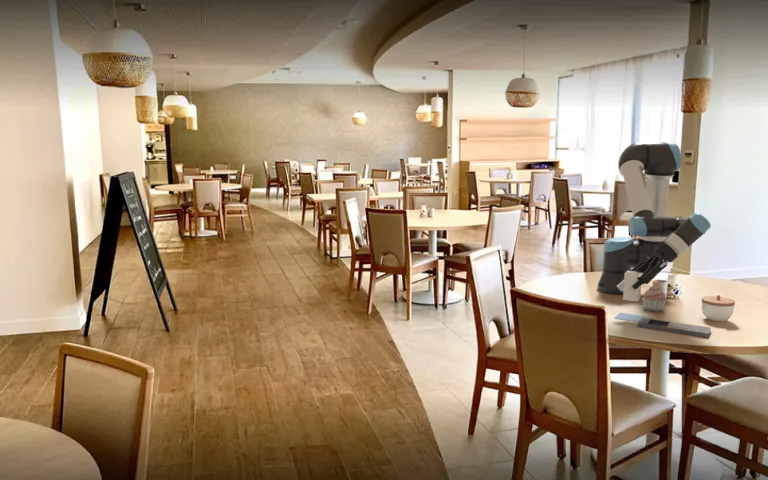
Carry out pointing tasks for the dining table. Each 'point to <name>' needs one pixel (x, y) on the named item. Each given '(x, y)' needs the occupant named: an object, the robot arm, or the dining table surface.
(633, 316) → the mat
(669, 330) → the rail
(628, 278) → the nut block
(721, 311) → the lidded jar
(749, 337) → the dining table surface
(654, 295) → the cupcake
